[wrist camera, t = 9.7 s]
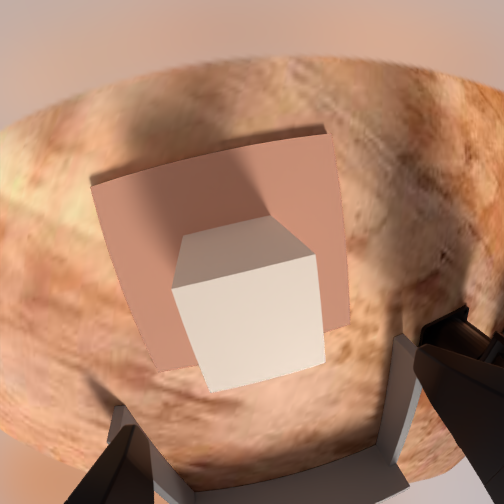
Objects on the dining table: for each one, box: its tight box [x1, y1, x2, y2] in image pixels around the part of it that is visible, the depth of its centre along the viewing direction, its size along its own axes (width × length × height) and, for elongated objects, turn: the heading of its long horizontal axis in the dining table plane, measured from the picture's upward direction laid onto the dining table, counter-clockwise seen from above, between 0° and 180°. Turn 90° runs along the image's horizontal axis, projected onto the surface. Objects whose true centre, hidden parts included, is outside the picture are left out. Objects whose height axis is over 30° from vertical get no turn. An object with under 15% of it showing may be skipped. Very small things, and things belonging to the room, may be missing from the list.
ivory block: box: [171, 215, 326, 393], centre depth 14 cm, size 5×5×7 cm
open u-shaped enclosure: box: [107, 334, 422, 504], centre depth 20 cm, size 25×19×8 cm
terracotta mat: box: [90, 133, 350, 372], centre depth 17 cm, size 14×13×1 cm
